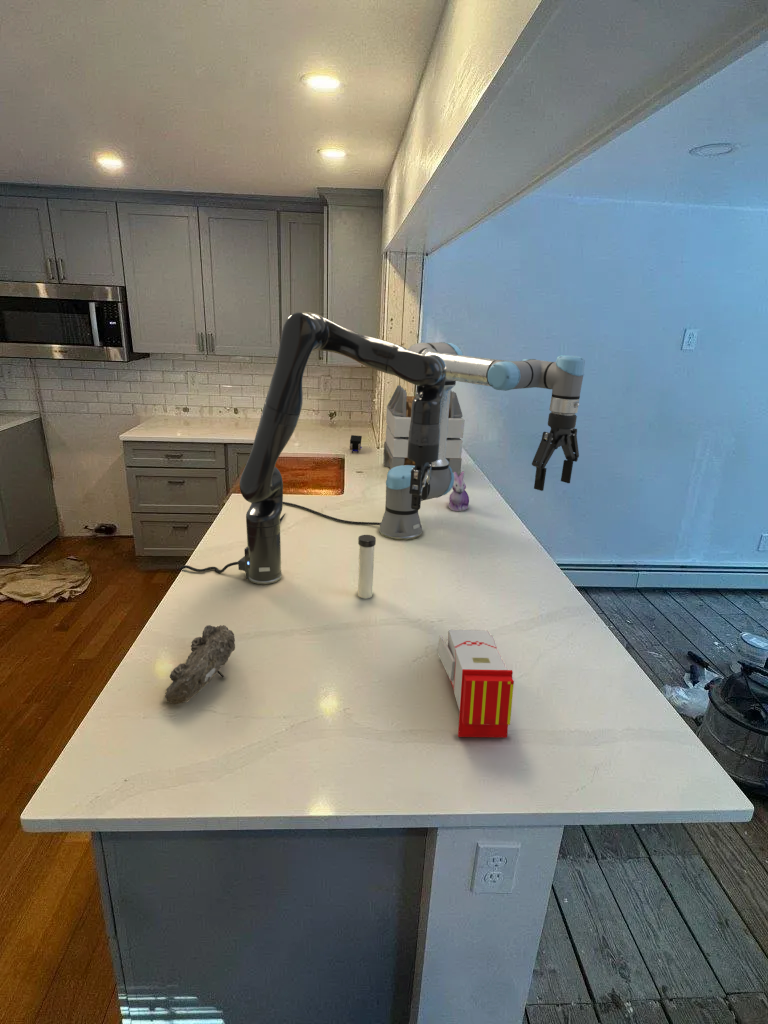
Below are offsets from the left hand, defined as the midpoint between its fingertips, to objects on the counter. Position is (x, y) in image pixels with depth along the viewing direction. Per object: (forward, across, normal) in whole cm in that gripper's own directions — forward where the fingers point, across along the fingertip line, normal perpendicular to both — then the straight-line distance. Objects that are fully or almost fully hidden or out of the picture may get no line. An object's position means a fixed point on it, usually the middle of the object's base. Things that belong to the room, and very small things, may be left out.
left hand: (419, 503), depth 142 cm
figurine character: (+29, -157, -68) cm, 174 cm away
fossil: (+29, +45, -34) cm, 63 cm away
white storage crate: (+29, -128, -25) cm, 134 cm away
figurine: (+29, -84, 0) cm, 89 cm away
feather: (+29, -48, -60) cm, 82 cm away
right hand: (+1, -34, +33) cm, 47 cm away
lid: (+12, -1, -14) cm, 18 cm away
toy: (+29, +32, +20) cm, 47 cm away
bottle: (+29, -1, -14) cm, 32 cm away
